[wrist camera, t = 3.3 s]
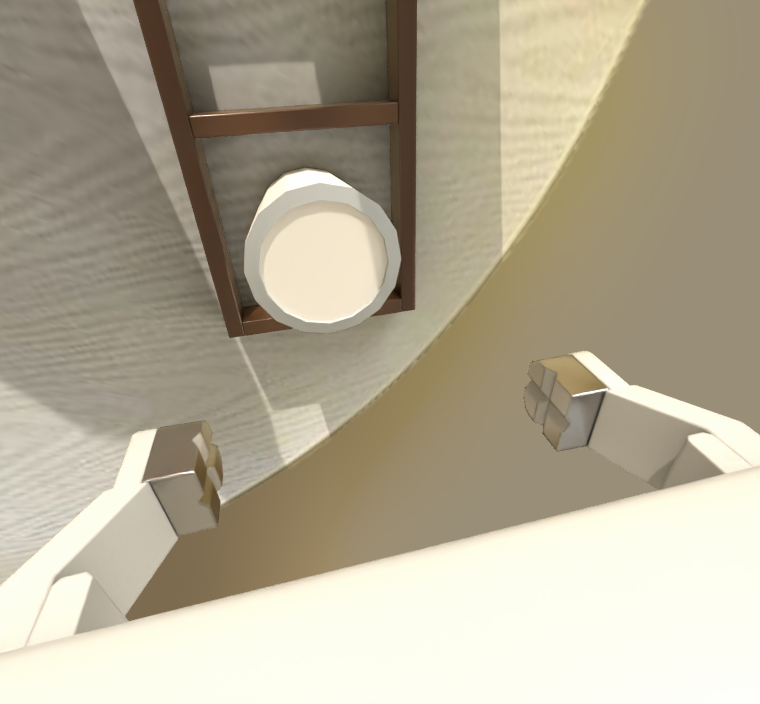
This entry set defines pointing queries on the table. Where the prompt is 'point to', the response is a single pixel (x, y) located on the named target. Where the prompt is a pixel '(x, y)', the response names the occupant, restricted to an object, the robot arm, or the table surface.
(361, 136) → the table surface
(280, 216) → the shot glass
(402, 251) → the holder
